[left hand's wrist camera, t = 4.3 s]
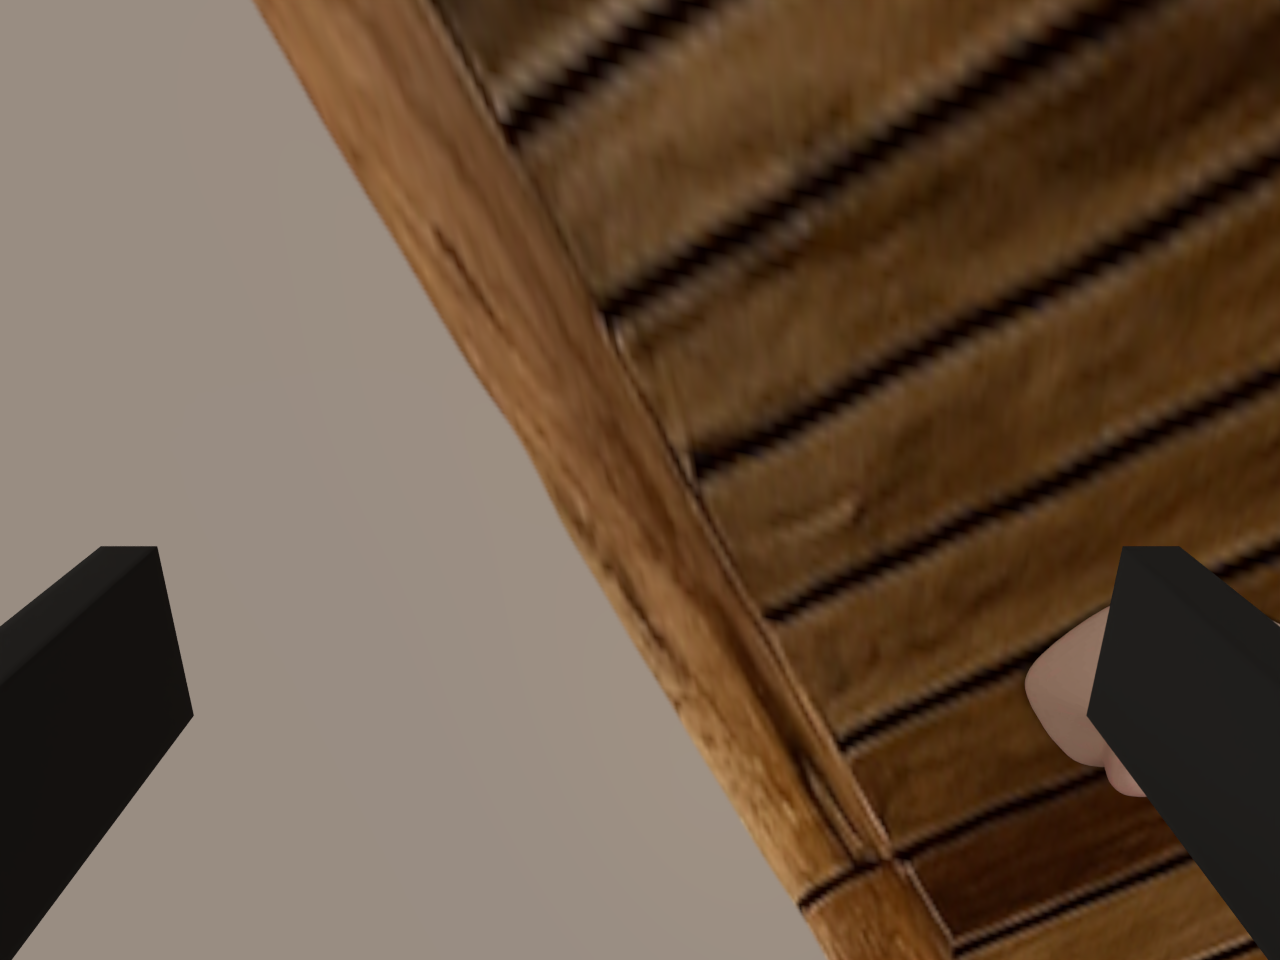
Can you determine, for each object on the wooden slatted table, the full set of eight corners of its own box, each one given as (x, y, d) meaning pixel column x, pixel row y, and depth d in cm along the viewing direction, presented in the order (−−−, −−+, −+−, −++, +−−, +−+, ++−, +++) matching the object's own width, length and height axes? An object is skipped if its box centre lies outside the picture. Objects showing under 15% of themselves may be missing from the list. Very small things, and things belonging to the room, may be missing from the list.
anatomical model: (1017, 763, 44) (1183, 578, 40) (988, 713, 47) (1137, 539, 44) (1225, 871, 46) (1399, 705, 42) (1181, 815, 50) (1339, 658, 46)
